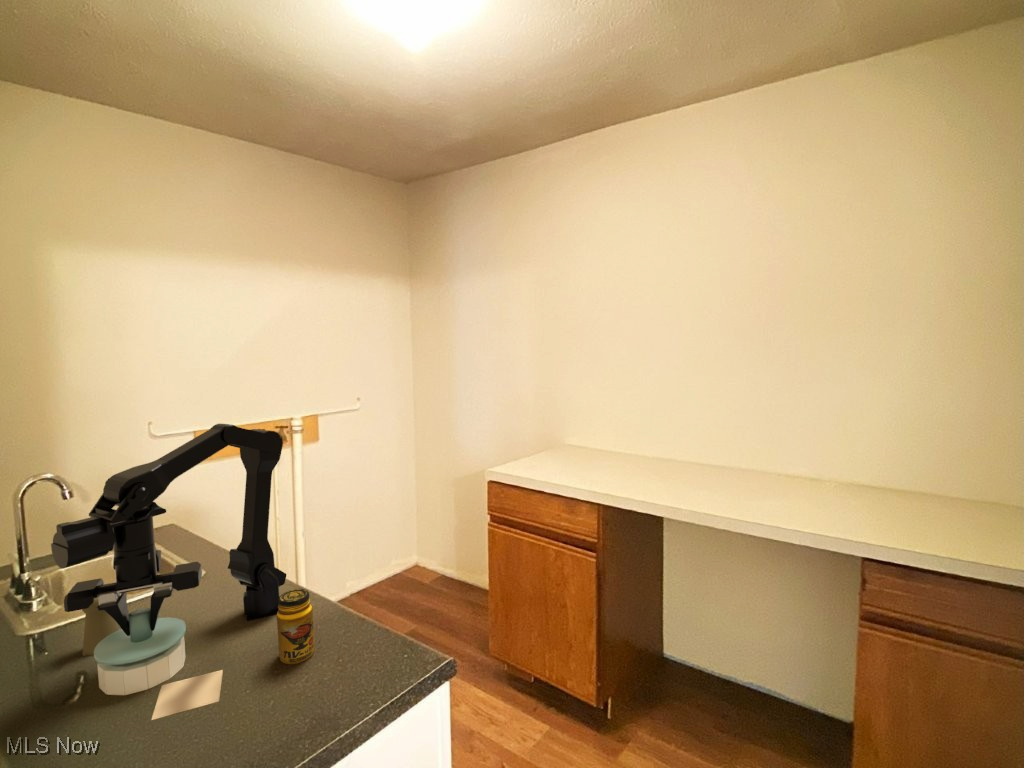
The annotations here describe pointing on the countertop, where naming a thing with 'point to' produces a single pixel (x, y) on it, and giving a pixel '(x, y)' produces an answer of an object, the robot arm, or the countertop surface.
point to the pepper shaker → (96, 627)
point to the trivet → (188, 694)
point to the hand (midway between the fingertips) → (141, 632)
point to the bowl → (141, 671)
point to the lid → (139, 639)
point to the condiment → (295, 626)
